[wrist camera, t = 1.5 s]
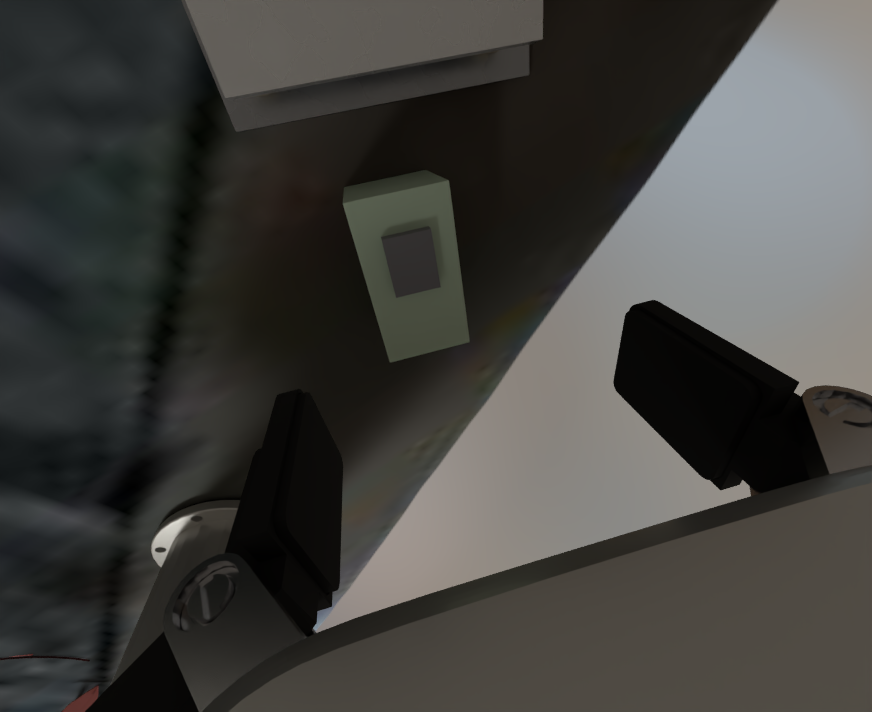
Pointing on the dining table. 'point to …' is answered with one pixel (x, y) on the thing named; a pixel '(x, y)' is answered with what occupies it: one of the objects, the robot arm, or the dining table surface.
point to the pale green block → (409, 261)
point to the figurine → (80, 704)
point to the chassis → (356, 51)
